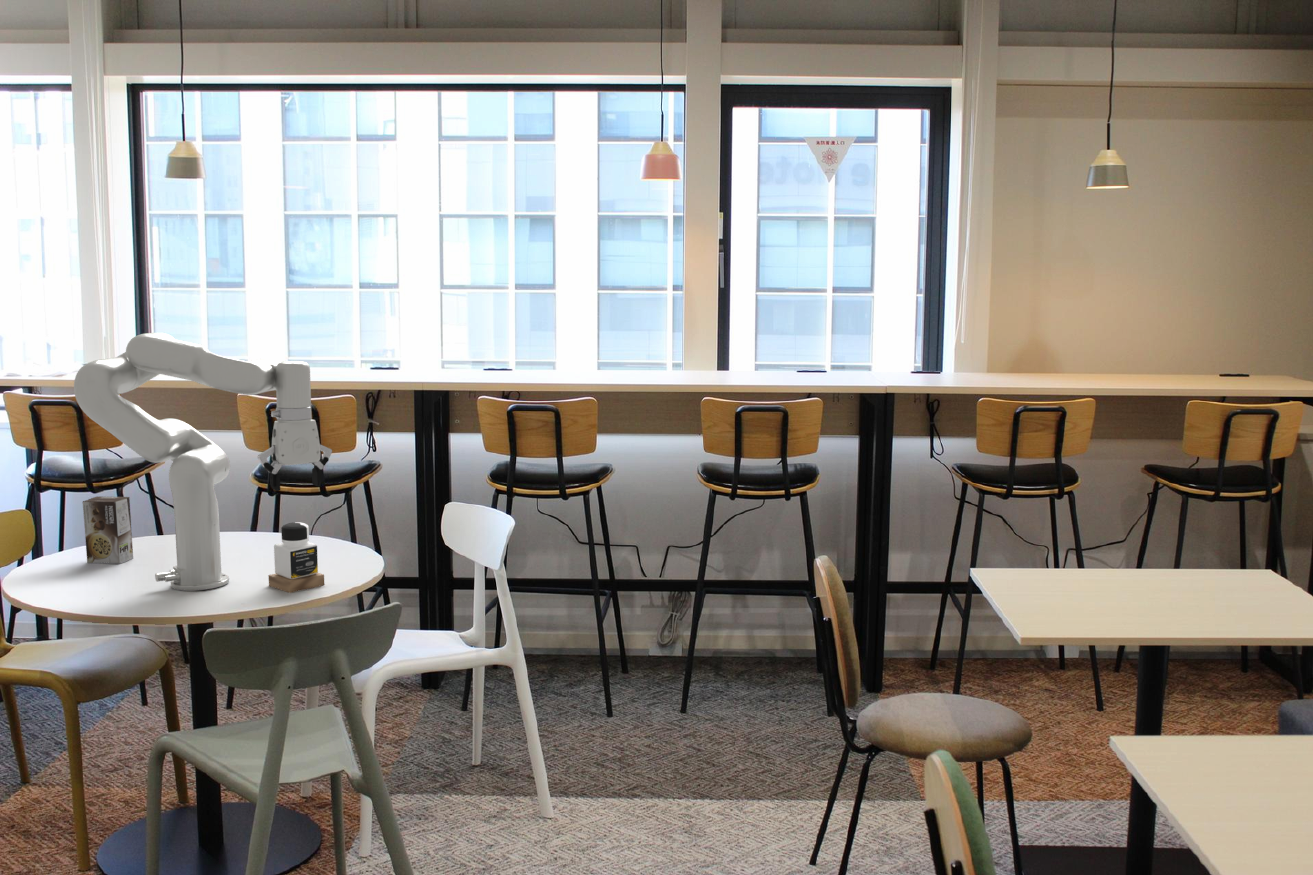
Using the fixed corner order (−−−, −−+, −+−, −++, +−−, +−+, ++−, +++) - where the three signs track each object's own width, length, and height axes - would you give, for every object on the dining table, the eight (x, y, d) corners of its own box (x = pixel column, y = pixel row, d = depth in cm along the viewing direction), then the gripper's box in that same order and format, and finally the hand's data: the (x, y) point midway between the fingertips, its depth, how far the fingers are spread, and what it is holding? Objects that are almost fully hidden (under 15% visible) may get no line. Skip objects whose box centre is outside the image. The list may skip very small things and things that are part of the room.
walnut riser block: (290, 594, 247) (289, 582, 247) (268, 587, 253) (268, 575, 253) (324, 586, 254) (324, 574, 254) (303, 580, 260) (302, 567, 259)
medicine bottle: (291, 580, 248) (289, 529, 246) (274, 573, 253) (272, 524, 251) (318, 573, 254) (317, 524, 252) (301, 567, 258) (299, 518, 256)
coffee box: (134, 558, 277) (131, 496, 275) (119, 564, 271) (116, 501, 269) (101, 557, 278) (97, 495, 276) (85, 563, 272) (81, 500, 270)
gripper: (263, 418, 240) (266, 494, 243) (336, 413, 251) (338, 486, 254) (250, 415, 246) (253, 489, 248) (323, 411, 257) (325, 481, 259)
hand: (296, 487), depth 251 cm, fingers open, 9 cm apart
